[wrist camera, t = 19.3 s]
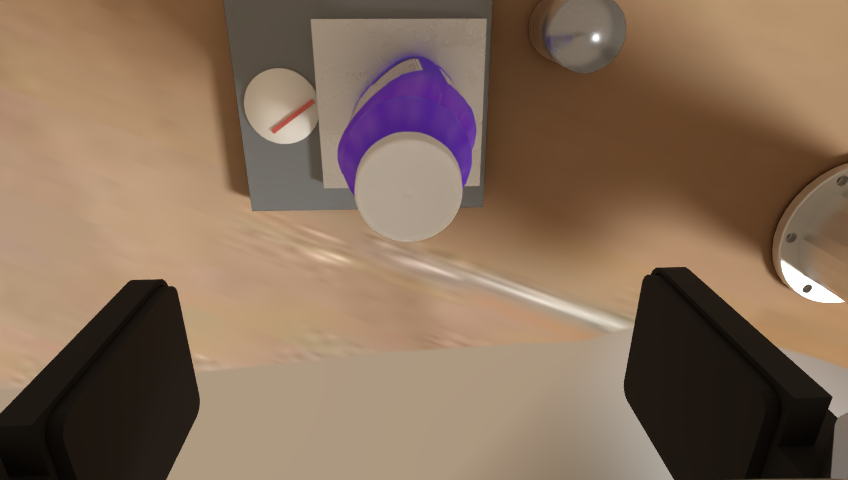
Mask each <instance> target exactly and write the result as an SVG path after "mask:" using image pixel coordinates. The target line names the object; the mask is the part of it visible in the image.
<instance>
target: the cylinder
mask: <svg viewBox="0 0 848 480" xmlns="http://www.w3.org/2000/svg"><path fill="white" fill-rule="evenodd" d="M528 34H529V39H530V42H531V44H532V46H533V47H534V49H535V50H536V51H537V52H538V53H539V54H541V55H542V56H544V57H546V58H548V59H550V60H552V61H554V62H555V63H557V64H559V65H561V66H563V67H565V68H567V69H569V70H571V71H573V72H577V73H592V72H595V71H598V70H600V69H602V68H604V67H605V66H607V65H608V64H609V63H611V62H612V61H613V60H614V58H615V57H616V56H617V55H618V53H619V52H620V50H621V48H622V46H623V43H624V40H625V35H626V21H625V17H624V14H623V12H622V10H621V8H620V7H619V5H618V4H617V3H616V2H615V1H614V0H541V1H540V2H539V3H538V4H537V5H536V7H535V8H534V10H533V12H532V14H531V16H530V19H529V25H528Z"/></svg>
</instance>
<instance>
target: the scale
mask: <svg viewBox="0 0 848 480" xmlns="http://www.w3.org/2000/svg"><path fill="white" fill-rule="evenodd" d="M223 2H224V10H225V17H226V24H227V32H228V39H229V46H230V53H231V61H232V68H233V75H234V82H235V90H236V97H237V104H238V112H239V119H240V126H241V133H242V141H243V148H244V155H245V162H246V170H247V177H248V184H249V192H250V199H251V206H252V211H288V210H344V209H358V208H357V205H356V201H355V196H354V195H353V194H352V192H351V190H350V189H349V188H324V182H323V169H322V157H321V144H320V131H319V119H318V106H317V93H316V81H315V68H314V55H313V43H312V30H311V19H472V18H484V19H487V25H486V48H485V72H484V95H483V119H482V142H481V165H480V186H464V188H463V190H462V200H461V205H460V207H483V197H484V175H485V153H486V132H487V110H488V88H489V67H490V45H491V23H492V2H493V0H223Z"/></svg>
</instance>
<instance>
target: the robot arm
mask: <svg viewBox="0 0 848 480" xmlns="http://www.w3.org/2000/svg"><path fill="white" fill-rule="evenodd" d="M772 255H773V263H774V266H775V269H776V272H777V274H778V276H779V277H780V279H781V280H782V282H783V283H784V284H786V285H787V286H788V287H789V288H790V289H791V290H793V291H794V292H796V293H797V294H798V295H800V296H802V297H804V298H807V299H809V300H812V301H817V302H823V303H839V302H846V303H847V304H848V163H846V164H843V165H840V166H838V167H835V168H833V169H831V170H830V171H828V172H826V173H824V174H822V175H820V176H819V177H818V178H816V179H815V180H814V181H812V182H811V183H810V184H808V185H807V186H806V187H805V188H804V189H803V190H802V191H801V192H800V193H799V194H798V195H797V196H796V197H795V198H794V200H793V201H792V202H791V204H790V205H789V206H788V208H787V209H786V210H785V212H784V214H783V216H782V218H781V220H780V221H779V223H778V226H777V229H776V232H775V235H774V239H773V247H772ZM624 391H625V396H626V399H627V401H628V403H629V404H630V406H631V408H632V410H633V411H634V413H635V415H636V416H637V418H638V420H639V421H640V423H641V425H642V426H643V428H644V430H645V431H646V433H647V435H648V437H649V438H650V440H651V442H652V443H653V445H654V447H655V448H656V450H657V452H658V453H659V455H660V457H661V458H662V460H663V462H664V464H665V465H666V467H667V468H668V470H669V472H670V474H671V475H672V477H673V479H674V480H848V413H846V414H844V415H842V416H840V417H838V418H837V417H836V416H835V415H834V414H833V413H832V412H831V411H830V410H828V408H829V405H830V402H831V400H832V396H831V395H830V394H829V393H828V392H826V391H825V390H824V389H823V388H822V387H821V386H819V385H818V384H817V383H816V382H815V381H814V380H813V379H812V378H810V377H809V376H808V375H807V374H806V373H805V372H804V371H803V370H802V369H800V368H799V367H798V366H797V365H796V364H795V363H794V362H793V361H792V360H790V359H789V358H788V357H787V356H786V355H785V354H783V353H782V352H781V351H780V350H779V349H778V348H777V347H776V346H775V345H773V344H772V343H771V342H770V341H769V340H768V339H767V338H766V337H764V336H763V335H762V334H761V333H760V332H759V331H758V330H757V329H755V328H754V327H753V326H752V325H751V324H750V323H749V322H748V321H746V320H745V319H744V318H743V317H742V316H741V315H740V314H739V313H737V312H736V311H735V310H734V309H733V308H732V307H731V306H730V305H728V304H727V303H726V302H725V301H724V300H723V299H722V298H721V297H719V296H718V295H717V294H716V293H715V292H714V291H713V290H712V289H710V288H709V287H708V286H707V285H706V284H705V283H704V282H703V281H701V280H700V279H699V278H698V277H697V276H696V275H695V274H693V273H692V272H691V271H690V270H689V269H687V268H686V267H668V268H655V269H654V270H653V271H652V273H651V275H646V276H645V277H644V279H643V282H642V287H641V292H640V298H639V303H638V309H637V314H636V319H635V325H634V330H633V336H632V342H631V347H630V352H629V358H628V363H627V368H626V374H625V379H624ZM199 405H200V398H199V392H198V387H197V383H196V378H195V373H194V368H193V363H192V359H191V354H190V349H189V344H188V340H187V335H186V330H185V325H184V321H183V316H182V311H181V306H180V302H179V297H178V293H177V290H176V288H175V287H173V286H168V285H167V283H166V281H164V280H163V279H157V280H131V281H129V282H128V283H127V284H126V285H125V286H124V287H123V288H122V289H121V290H120V291H119V292H118V293H117V294H116V295H115V296H114V297H113V298H112V299H111V300H110V301H109V302H108V303H107V305H106V306H105V307H104V308H103V309H102V310H101V311H100V312H99V313H98V314H97V315H96V316H95V317H94V318H93V319H92V320H91V321H90V322H89V323H88V324H87V325H86V326H85V327H84V328H83V329H82V330H81V331H80V332H79V333H78V334H77V335H76V336H75V337H74V338H73V339H72V340H71V341H70V343H69V344H68V345H67V346H66V347H65V348H64V349H63V350H62V351H61V352H60V353H59V354H58V355H57V356H56V357H55V358H54V359H53V360H52V361H51V362H50V363H49V364H48V365H47V366H46V367H45V368H44V369H43V370H42V371H41V372H40V373H39V374H38V375H37V376H36V377H35V378H34V379H33V381H32V382H31V383H30V384H29V385H28V386H27V387H26V388H25V389H24V390H23V391H22V392H21V393H20V394H19V395H18V396H17V397H16V398H15V399H14V400H13V401H12V402H11V403H10V404H9V405H8V406H7V407H6V408H5V409H4V410H3V411H2V412H1V413H0V480H166V479H167V477H168V474H169V472H170V470H171V468H172V466H173V464H174V462H175V460H176V458H177V456H178V454H179V452H180V450H181V448H182V446H183V444H184V442H185V440H186V437H187V435H188V433H189V431H190V429H191V427H192V425H193V423H194V421H195V419H196V417H197V414H198V411H199Z"/></svg>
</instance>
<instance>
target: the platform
mask: <svg viewBox="0 0 848 480" xmlns="http://www.w3.org/2000/svg"><path fill="white" fill-rule="evenodd" d="M486 25H487V19H484V18H472V19H311V30H312V43H313V55H314V68H315V81H316V93H317V106H318V119H319V131H320V144H321V157H322V169H323V182H324V188H349V187H348V185H347V182H346V180H345V178H344V175H343V174H342V172H341V170H340V167H339V164H338V156H337V153H338V145H339V142H340V139H341V137H342V135H343V133H344V131H345V129H346V127H347V125H348V123H349V120H350V118H351V115H352V112H353V109H354V107H355V105H356V103H357V101H358V100H359V98H360V96H361V95H362V94H363V92H364V91H365V90H366V88H367V87H368V86H369V85H370V84H371V83H372V81H373V80H374V79H375V78H376V77H377V76H378V75H379V74H380V73H381V72H383V71H384V70H385V69H386V68H387V67H389V66H390V65H392V64H393V63H395V62H396V61H398V60H400V59H402V58H405V57H409V56H420V57H424V58H427V59H429V60H431V61H432V62H434V63H435V64H436V65H438V66H439V67H441V68H442V69H443V70H444V71H445V73H446V74H447V75H448V76H449V77H450V78H451V80H452V81H453V83H454V84H455V85H456V86H457V88H458V89H459V90H460V92H461V94H462V95H463V96H464V98H465V99H466V101H467V102H468V104H469V105H470V107H471V108H472V111H473V114H474V118H475V122H476V130H477V132H476V138H475V143H474V146H473V149H472V166H471V170H470V173H469V176H468V179H467V182H466V184H465V186H480V165H481V142H482V119H483V95H484V72H485V48H486Z"/></svg>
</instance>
